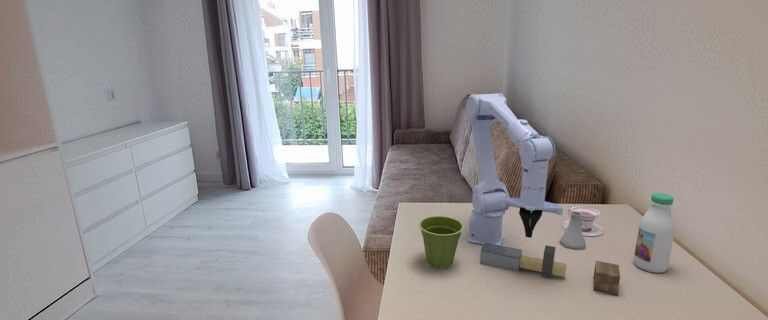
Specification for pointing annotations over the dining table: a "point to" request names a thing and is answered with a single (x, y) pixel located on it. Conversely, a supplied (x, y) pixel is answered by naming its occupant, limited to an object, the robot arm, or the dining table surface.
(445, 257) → the plant pot
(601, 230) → the teacup
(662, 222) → the milk bottle
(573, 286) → the dining table surface
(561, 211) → the robot arm
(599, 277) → the socket
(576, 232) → the flask
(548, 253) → the grey-banded wooden bar
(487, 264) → the sleeve
